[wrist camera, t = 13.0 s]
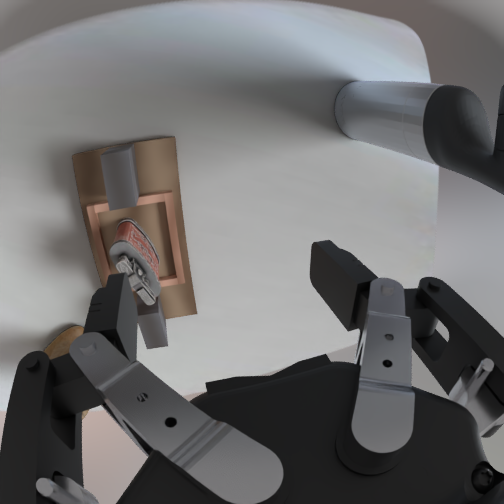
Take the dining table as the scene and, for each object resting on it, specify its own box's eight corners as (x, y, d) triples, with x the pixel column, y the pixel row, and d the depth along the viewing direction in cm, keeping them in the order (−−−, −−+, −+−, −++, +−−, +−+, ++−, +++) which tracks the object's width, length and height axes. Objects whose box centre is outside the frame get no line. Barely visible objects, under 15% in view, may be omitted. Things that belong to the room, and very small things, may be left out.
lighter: (111, 226, 36) (98, 263, 27) (132, 212, 36) (124, 246, 28) (145, 271, 40) (143, 317, 32) (165, 260, 40) (168, 303, 32)
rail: (174, 136, 35) (177, 142, 28) (195, 307, 47) (203, 340, 41) (75, 153, 32) (56, 165, 25) (117, 320, 44) (113, 353, 38)
